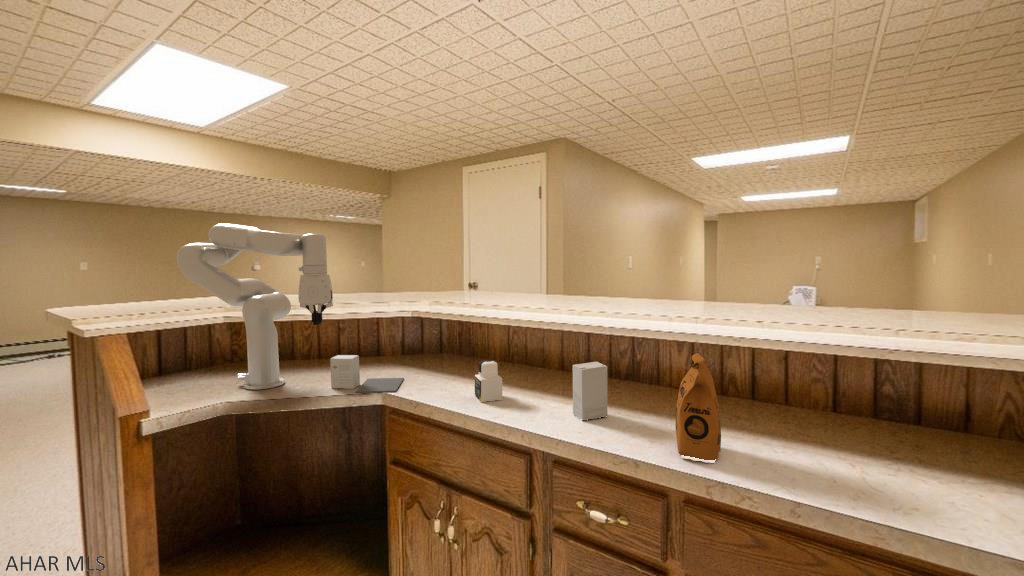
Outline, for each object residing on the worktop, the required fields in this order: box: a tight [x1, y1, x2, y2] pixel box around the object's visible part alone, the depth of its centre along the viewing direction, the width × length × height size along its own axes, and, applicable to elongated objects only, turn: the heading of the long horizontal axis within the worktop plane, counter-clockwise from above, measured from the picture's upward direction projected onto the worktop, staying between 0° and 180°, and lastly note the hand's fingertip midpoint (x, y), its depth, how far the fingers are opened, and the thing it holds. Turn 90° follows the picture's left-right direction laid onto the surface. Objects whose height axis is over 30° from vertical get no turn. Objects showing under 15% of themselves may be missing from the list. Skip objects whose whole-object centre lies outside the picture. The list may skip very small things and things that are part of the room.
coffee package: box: [674, 352, 722, 460], centre depth 106 cm, size 10×12×22 cm
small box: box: [329, 354, 361, 390], centre depth 161 cm, size 8×6×10 cm
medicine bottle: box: [474, 359, 503, 403], centre depth 147 cm, size 7×7×12 cm
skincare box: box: [572, 361, 608, 421], centre depth 130 cm, size 8×6×15 cm
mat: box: [355, 377, 405, 394], centre depth 162 cm, size 13×16×1 cm
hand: (317, 324), depth 159 cm, fingers closed
